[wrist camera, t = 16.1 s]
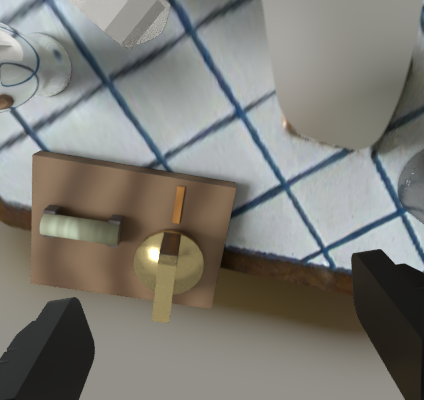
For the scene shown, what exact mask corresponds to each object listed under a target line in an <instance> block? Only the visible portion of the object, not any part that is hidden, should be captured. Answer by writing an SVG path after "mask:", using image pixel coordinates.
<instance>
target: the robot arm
mask: <svg viewBox="0 0 424 400" xmlns="http://www.w3.org/2000/svg"><path fill="white" fill-rule="evenodd" d="M398 196H399V200H400V202H401V204H402V206H403V207H404V208H405V210H406V211H407V212H408V213H410V214H411V215H412V216H414V217H415V218H416V219H418V220H419V221H420V222H422V223H423V224H424V150H422V151H421V152H419V153H418V154H416V155H415V156H414V157H413V158H412V159H411V160H410V161H409V162H408V163H407V165H406V166H405V167H404V169H403V171H402V173H401V175H400V178H399V182H398ZM351 264H352V282H353V299H354V305H355V310H356V313H357V316H358V319H359V321H360V323H361V325H362V326H363V328H364V330H365V332H366V333H367V335H368V337H369V338H370V340H371V342H372V344H373V345H374V347H375V349H376V350H377V352H378V354H379V356H380V357H381V359H382V361H383V362H384V364H385V366H386V367H387V369H388V371H389V373H390V375H391V376H392V378H393V380H394V381H395V383H396V385H397V386H398V388H399V390H400V392H401V393H402V395H403V397H404V398H405V400H424V273H422V272H421V271H419V270H417V269H415V268H413V267H411V266H409V265H407V264H405V263H404V264H398V265H395V264H394V262H393V261H392V260H391V259H390V258H389V257H388V256H387V255H386V254H385V253H384V252H383V251H382V250H381V249H377V250H371V251H364V252H358V253H353V254H352V258H351ZM94 354H95V346H94V340H93V337H92V334H91V331H90V328H89V325H88V323H87V320H86V317H85V314H84V311H83V309H82V306H81V303H80V301H79V300H78V299H77V298H75V297H73V298H66V299H61V300H54V301H50V302H48V303H47V304H46V306H45V307H44V309H43V310H42V312H41V313H40V315H39V316H38V318H37V319H36V321H32V322H31V323H30V324H29V325H27V326H26V327H25V328H24V329H23V330H22V331H20V332H19V333H18V334H17V335H16V337H15V338H14V339H13V341H12V342H11V344H10V345H9V347H8V348H7V352H4V354H3V355H2V357H1V358H0V400H79V398H80V395H81V392H82V390H83V387H84V384H85V382H86V379H87V376H88V373H89V371H90V368H91V366H92V363H93V360H94Z"/></svg>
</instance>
